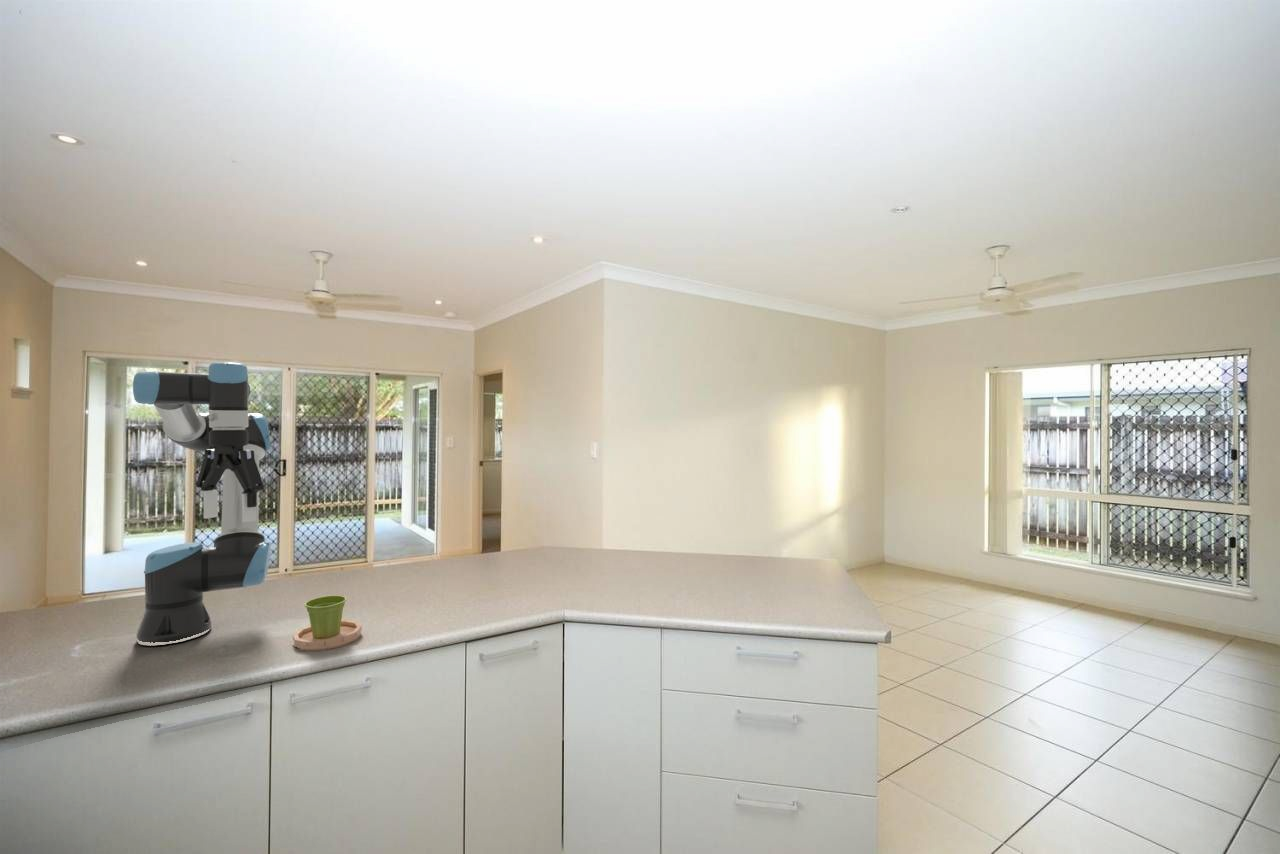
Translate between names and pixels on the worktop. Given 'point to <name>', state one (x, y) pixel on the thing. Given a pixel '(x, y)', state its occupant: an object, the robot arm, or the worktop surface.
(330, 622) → the plant pot
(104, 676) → the worktop surface
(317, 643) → the saucer
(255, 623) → the worktop surface
